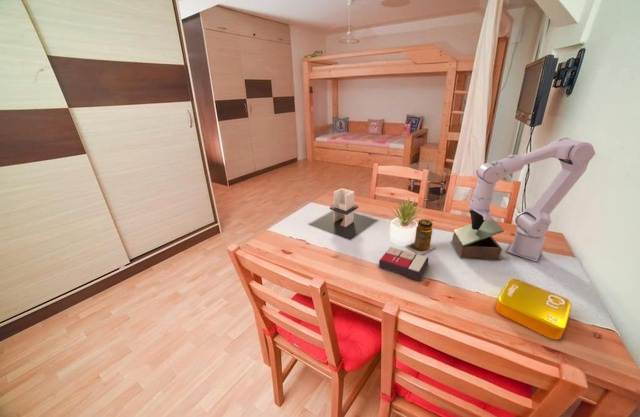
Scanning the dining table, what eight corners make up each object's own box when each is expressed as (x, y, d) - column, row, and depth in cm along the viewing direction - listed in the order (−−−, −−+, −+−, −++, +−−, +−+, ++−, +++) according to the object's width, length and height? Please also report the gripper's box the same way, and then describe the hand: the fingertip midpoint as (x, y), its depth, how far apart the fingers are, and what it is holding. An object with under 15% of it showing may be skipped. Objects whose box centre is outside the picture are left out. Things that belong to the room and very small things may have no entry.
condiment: (433, 248, 108) (438, 222, 104) (420, 255, 104) (424, 229, 99) (419, 240, 114) (422, 216, 109) (406, 247, 110) (409, 221, 105)
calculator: (390, 245, 105) (429, 255, 96) (389, 254, 107) (428, 265, 98) (378, 258, 97) (420, 271, 88) (378, 268, 99) (419, 281, 90)
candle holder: (309, 224, 132) (307, 194, 125) (338, 208, 148) (337, 180, 142) (350, 240, 117) (350, 206, 110) (377, 220, 133) (379, 189, 127)
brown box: (486, 244, 110) (489, 233, 108) (498, 260, 100) (502, 248, 97) (451, 242, 112) (453, 231, 110) (460, 258, 102) (462, 246, 100)
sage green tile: (490, 217, 105) (490, 216, 105) (504, 231, 94) (503, 230, 94) (454, 231, 110) (453, 230, 110) (463, 246, 100) (462, 245, 99)
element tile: (507, 286, 87) (511, 275, 85) (567, 311, 76) (573, 298, 74) (493, 311, 77) (497, 299, 75) (559, 343, 67) (565, 330, 65)
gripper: (464, 189, 103) (458, 219, 109) (478, 203, 90) (470, 237, 96) (484, 189, 102) (476, 220, 108) (501, 204, 89) (491, 238, 95)
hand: (475, 228), depth 102 cm, fingers closed
